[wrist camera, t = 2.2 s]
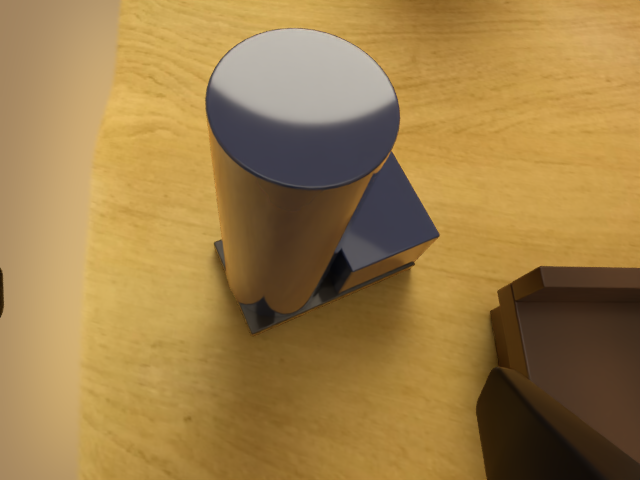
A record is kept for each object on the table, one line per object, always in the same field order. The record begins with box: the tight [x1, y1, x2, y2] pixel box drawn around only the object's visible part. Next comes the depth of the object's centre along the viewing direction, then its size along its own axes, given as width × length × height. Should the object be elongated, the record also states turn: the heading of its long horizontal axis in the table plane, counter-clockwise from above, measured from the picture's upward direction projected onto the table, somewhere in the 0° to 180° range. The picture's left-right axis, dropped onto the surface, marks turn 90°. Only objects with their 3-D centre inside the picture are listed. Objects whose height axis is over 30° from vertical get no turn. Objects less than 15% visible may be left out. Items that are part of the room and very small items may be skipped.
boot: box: [205, 28, 440, 337], centre depth 16 cm, size 8×4×12 cm, turn 115°
